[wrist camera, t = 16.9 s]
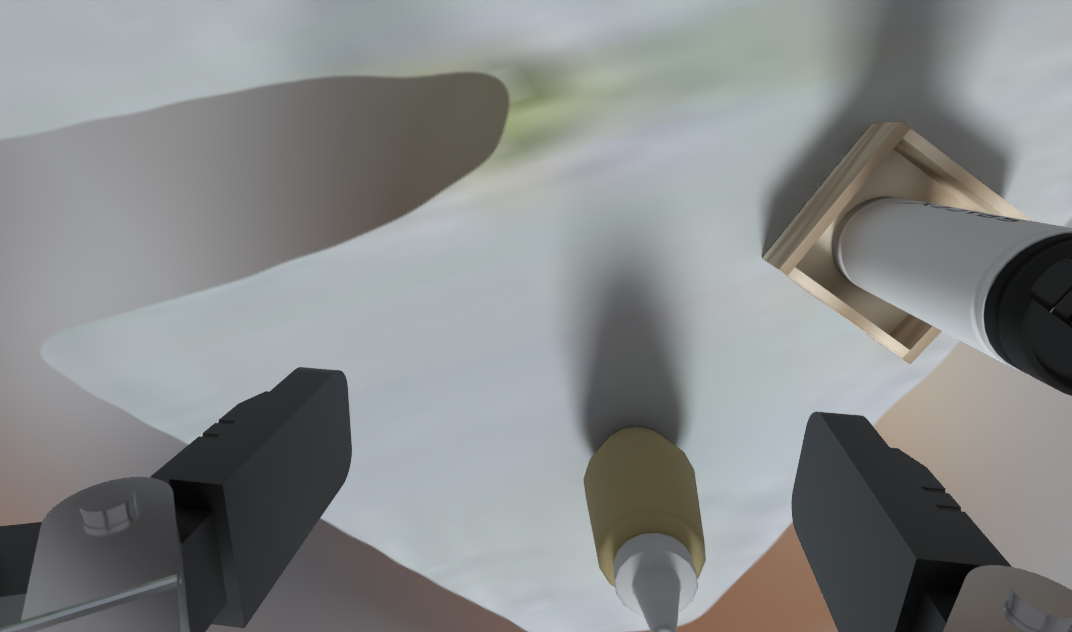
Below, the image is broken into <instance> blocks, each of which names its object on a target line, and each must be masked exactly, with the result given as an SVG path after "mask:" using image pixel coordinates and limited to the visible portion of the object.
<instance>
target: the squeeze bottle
mask: <svg viewBox="0 0 1072 632" xmlns="http://www.w3.org/2000/svg"><path fill="white" fill-rule="evenodd" d="M584 486H585V494H586V500H587V506H588V511H589V516H590V521H591V526H592V532H593V537H594V542H595V547H596V552H597V557H598V563H599V568H600V569H601V571H602V572H603V574H604V576H605V577H606V579H607V580H608V582H609V583H610V584H611V585H612V586H614V587H615V588H616V594H617V595H618V597H619V598H620V600H621V602H622V603H623V605H624V606H626V607H627V608H628V609H630V610H631V611H633V612H634V613H636V614H638V615H642V616H644V617H645V619H646V622H647V624H648V626H649V628H650V631H651V632H676V631H677V621H678V612H681V611H682V610H684V609H685V608H686V607H687V606H688V605H689V604H690V603H691V602H692V601H693V599H694V596H695V594H696V591H697V589H698V584H697V579H698V578H699V576H700V573H701V571H702V568H703V566H704V563H705V561H706V558H705V545H704V536H703V529H702V522H701V515H700V508H699V501H698V494H697V487H696V480H695V473H694V469H693V467H692V465H691V464H690V462H689V460H688V458H687V457H686V455H685V453H684V452H683V451H682V450H680V449H679V448H678V447H676V446H675V445H674V444H672V443H671V442H670V441H668V440H667V439H665V438H664V437H663V436H661V435H660V434H658V433H657V432H655V431H654V430H650V429H646V428H643V427H630V428H623V429H621V430H619V431H617V432H615V433H613V434H611V435H610V436H609V437H608V439H607V440H606V441H605V442H604V443H603V444H602V445H601V447H600V448H599V449H598V450H597V452H596V453H595V454H594V456H593V457H592V458H591V459H590V461H589V464H588V467H587V470H586V473H585V477H584Z"/></svg>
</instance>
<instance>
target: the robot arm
mask: <svg viewBox="0 0 1072 632" xmlns="http://www.w3.org/2000/svg"><path fill="white" fill-rule="evenodd" d="M351 455H352V445H351V430H350V415H349V401H348V386H347V380H346V377H345V375H344V373H343V372H342V371H339V370H327V369H315V368H303V367H299V368H297V369H295V370H294V371H293V372H292V373H291V374H289V375H288V376H287V377H286V378H285V379H284V380H283V381H281V382H280V383H279V384H278V385H277V386H276V387H275V388H273V389H272V390H271V391H270V392H267V391H266V392H263V393H261V394H259V395H257V396H255V397H252V398H250V399H248V400H246V401H244V402H241V403H239V404H238V405H236V406H235V407H234V408H233V409H232V410H230V411H229V412H228V413H227V414H226V415H224V416H223V417H222V418H221V419H219V423H215V424H213V425H212V426H211V427H210V428H209V429H207V430H206V431H205V432H204V433H203V436H202V437H198V438H197V439H195V440H194V441H193V442H192V443H191V444H189V445H188V446H187V447H186V448H184V449H183V450H182V451H181V452H180V453H178V454H177V455H176V456H175V457H174V458H172V459H171V460H170V461H169V462H168V463H166V464H165V465H164V466H163V467H162V468H160V469H159V470H158V471H157V472H156V473H154V474H153V475H152V476H151V477H129V478H121V479H116V480H111V481H107V482H103V483H100V484H97V485H94V486H91V487H88V488H86V489H84V490H81V491H79V492H77V493H75V494H73V495H71V496H69V497H68V498H66V499H64V500H63V501H61V502H60V503H59V504H57V505H56V506H55V507H54V508H53V509H52V510H51V511H50V512H49V513H48V514H47V515H46V516H45V518H44V519H43V521H42V522H38V523H29V524H19V525H9V526H0V632H205V631H206V630H207V629H208V627H209V626H210V625H211V624H216V625H224V626H232V627H240V628H245V627H246V625H247V624H248V622H249V621H250V619H251V618H252V616H253V615H254V613H255V612H256V611H257V609H258V608H259V606H260V604H261V603H262V602H263V600H264V599H265V597H266V596H267V594H268V593H269V592H270V590H271V589H272V587H273V586H274V584H275V583H276V581H277V580H278V578H279V577H280V576H281V574H282V573H283V571H284V570H285V568H286V567H287V565H288V564H289V562H290V561H291V559H292V558H293V557H294V555H295V554H296V552H297V551H298V549H299V548H300V546H301V545H302V544H303V542H304V541H305V539H306V538H307V536H308V535H309V533H310V532H311V530H312V529H313V527H314V526H315V525H316V523H317V522H318V520H319V519H320V517H321V516H322V514H323V513H324V511H325V510H326V509H327V507H328V506H329V504H330V503H331V501H332V500H333V498H334V497H335V495H336V494H337V493H338V491H339V490H340V488H341V487H342V485H343V484H344V482H345V480H346V477H347V475H348V472H349V468H350V463H351ZM792 518H793V524H794V528H795V531H796V534H797V536H798V538H799V540H800V543H801V545H802V548H803V550H804V552H805V555H806V557H807V559H808V562H809V564H810V566H811V568H812V571H813V573H814V576H815V578H816V580H817V583H818V585H819V587H820V590H821V592H822V594H823V597H824V599H825V601H826V603H827V606H828V608H829V611H830V613H831V615H832V617H833V620H834V622H835V625H836V627H837V629H838V632H1072V590H1071V589H1069V588H1067V587H1065V586H1063V585H1061V584H1059V583H1057V582H1055V581H1053V580H1050V579H1049V578H1046V577H1043V576H1041V575H1038V574H1036V573H1032V572H1029V571H1026V570H1023V569H1019V568H1014V567H1012V566H1011V565H1010V564H1009V563H1008V562H1007V561H1006V560H1005V559H1004V557H1003V556H1002V555H1001V554H1000V552H999V551H998V550H997V549H996V548H995V547H994V546H993V544H992V543H991V542H990V541H989V540H988V538H987V537H986V536H985V535H984V534H983V533H982V531H981V530H980V529H979V528H978V527H977V526H976V524H975V523H974V522H973V521H972V520H971V519H970V517H969V516H968V515H967V514H966V513H965V512H961V507H960V506H959V505H958V504H957V502H956V501H955V500H954V499H953V498H952V496H951V495H950V494H948V493H945V488H944V487H943V486H942V485H941V484H940V482H939V481H938V480H937V479H936V478H935V477H934V476H933V474H932V473H931V472H930V471H929V470H928V468H926V467H925V466H924V465H922V464H920V463H919V462H918V461H916V460H914V459H913V458H911V457H910V456H908V455H907V454H905V453H904V452H902V451H901V450H899V449H898V448H890V447H889V446H888V445H887V444H886V443H885V441H884V440H883V439H882V437H881V436H880V435H879V434H878V432H877V431H876V430H875V429H874V427H873V426H872V425H871V424H870V422H869V421H868V420H867V419H866V418H865V417H864V416H860V415H848V414H836V413H824V412H814V413H812V414H811V416H810V418H809V420H808V422H807V426H806V430H805V435H804V440H803V445H802V450H801V454H800V459H799V464H798V469H797V474H796V478H795V483H794V488H793V494H792Z"/></svg>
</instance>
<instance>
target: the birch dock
mask: <svg viewBox="0 0 1072 632" xmlns="http://www.w3.org/2000/svg"><path fill="white" fill-rule="evenodd" d="M886 196H890V197H898V198H904V199H909V200H915V201H921V202H926V203H932V204H938V205H943V206H949V207H955V208H960V209H966V210H971V211H977V212H983V213H988V214H994V215H1000V216H1005V217H1011V218H1016V219H1022V220H1028V221H1031V220H1030V219H1029V218H1027V217H1026V216H1025V215H1023V214H1022V213H1021V212H1019V211H1018V210H1017V209H1016V208H1014V207H1013V206H1012V205H1010V204H1009V203H1008V202H1006V201H1005V200H1004V199H1003V198H1001V197H1000V196H999V195H997V194H996V193H995V192H993V191H992V190H991V189H990V188H988V187H987V186H986V185H984V184H983V183H982V182H980V181H979V180H978V179H976V178H975V177H974V176H973V175H971V174H970V173H969V172H967V171H966V170H965V169H963V168H962V167H961V166H960V165H958V164H957V163H956V162H954V161H953V160H952V159H950V158H949V157H948V156H947V155H945V154H944V153H943V152H941V151H940V150H939V149H937V148H936V147H935V146H934V145H932V144H931V143H930V142H928V141H927V140H926V139H924V138H923V137H922V136H921V135H919V134H918V133H917V132H915V131H914V130H913V129H911V128H910V127H909V126H908V125H906V124H905V123H904V122H902V121H896V122H880V123H872V124H871V125H870V126H869V127H868V129H867V130H866V131H865V132H864V133H863V135H862V136H861V137H860V138H859V140H858V141H857V142H856V143H855V144H854V146H853V147H852V148H851V149H850V151H849V152H848V153H847V154H846V156H845V157H844V158H843V159H842V160H841V162H840V163H839V164H838V165H837V167H836V168H835V169H834V170H833V172H832V173H831V174H830V175H829V176H828V178H827V179H826V180H825V181H824V183H823V184H822V185H821V186H820V187H819V189H818V190H817V191H816V192H815V194H814V195H813V196H812V197H811V199H810V200H809V201H808V202H807V203H806V205H805V206H804V207H803V208H802V210H801V211H800V212H799V213H798V215H797V216H796V217H795V218H794V219H793V221H792V222H791V223H790V224H789V226H788V227H787V228H786V229H785V231H784V232H783V233H782V234H781V235H780V237H779V238H778V239H777V240H776V242H775V243H774V244H773V245H772V246H771V248H770V249H769V250H768V251H767V253H766V254H765V255H764V256H763V258H762V259H763V260H765V261H766V262H768V263H769V264H770V265H772V266H773V267H775V268H776V269H777V270H779V271H780V272H781V273H783V274H784V275H786V276H787V277H788V278H790V279H791V280H793V281H794V282H795V283H797V284H798V285H800V286H801V287H802V288H804V289H805V290H806V291H808V292H809V293H811V294H812V295H813V296H815V297H816V298H818V299H819V300H820V301H822V302H823V303H824V304H826V305H827V306H829V307H830V308H831V309H833V310H834V311H836V312H837V313H838V314H840V315H841V316H843V317H844V318H845V319H847V320H848V321H849V322H851V323H852V324H854V325H855V326H856V327H858V328H859V329H861V330H862V331H863V332H865V333H866V334H867V335H869V336H870V337H872V338H873V339H874V340H876V341H877V342H879V343H880V344H881V345H883V346H884V347H886V348H887V349H889V350H890V351H892V352H893V353H895V354H896V355H897V356H899V357H900V358H902V359H903V360H905V361H906V362H908V363H909V364H911V363H912V362H913V361H914V360H915V359H916V358H917V357H918V356H919V355H920V354H921V353H922V352H923V350H924V349H925V348H926V347H927V346H928V345H929V344H930V343H931V342H932V341H933V340H934V339H935V338H936V337H937V336H938V335H939V333H940V332H941V331H942V330H940V329H938V328H936V327H934V326H932V325H930V324H928V323H926V322H924V321H923V320H921V319H919V318H917V317H915V316H913V315H911V314H909V313H907V312H905V311H903V310H902V309H900V308H898V307H896V306H894V305H892V304H890V303H888V302H886V301H884V300H883V299H881V298H879V297H877V296H875V295H873V294H871V293H869V292H867V291H865V290H864V289H862V288H860V287H858V286H856V285H854V284H852V283H851V282H849V281H848V280H846V279H845V278H844V277H843V276H842V275H841V273H840V272H839V271H838V269H837V267H836V265H835V263H834V260H833V254H832V242H833V238H834V234H835V232H836V230H837V227H838V225H839V224H840V222H841V221H842V219H843V218H844V217H845V216H846V215H847V214H848V213H849V212H850V211H851V210H852V209H853V208H855V207H856V206H857V205H859V204H861V203H863V202H865V201H867V200H869V199H873V198H877V197H886Z"/></svg>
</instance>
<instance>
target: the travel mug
mask: <svg viewBox="0 0 1072 632" xmlns="http://www.w3.org/2000/svg"><path fill="white" fill-rule="evenodd" d="M832 254H833V260H834V263H835V265H836V267H837V269H838V271H839V272H840V273H841V275H842V276H843V277H844V278H845V279H846V280H848V281H849V282H851V283H852V284H854V285H856V286H858V287H860V288H862V289H864V290H865V291H867V292H869V293H871V294H873V295H875V296H877V297H879V298H881V299H883V300H884V301H886V302H888V303H890V304H892V305H894V306H896V307H898V308H900V309H902V310H903V311H905V312H907V313H909V314H911V315H913V316H915V317H917V318H919V319H921V320H923V321H924V322H926V323H928V324H930V325H932V326H934V327H936V328H938V329H940V330H942V331H943V332H945V333H947V334H949V335H951V336H953V337H955V338H957V339H959V340H961V341H962V342H964V343H966V344H968V345H970V346H972V347H974V348H976V349H978V350H980V351H982V352H983V353H985V354H987V355H989V356H991V357H993V358H995V359H997V360H999V361H1001V362H1002V363H1005V364H1007V365H1008V366H1010V367H1012V368H1014V369H1016V370H1019V371H1022V372H1025V373H1027V374H1029V375H1031V376H1032V377H1034V378H1036V379H1038V380H1040V381H1042V382H1044V383H1046V384H1048V385H1049V386H1051V387H1053V388H1055V389H1057V390H1059V391H1061V392H1063V393H1066V394H1068V395H1071V396H1072V228H1067V227H1062V226H1056V225H1050V224H1045V223H1039V222H1033V221H1028V220H1022V219H1016V218H1011V217H1005V216H1000V215H994V214H988V213H983V212H977V211H971V210H966V209H960V208H955V207H949V206H943V205H938V204H932V203H926V202H921V201H915V200H909V199H904V198H898V197H890V196H886V197H877V198H873V199H869V200H867V201H865V202H863V203H861V204H859V205H857V206H856V207H855V208H853V209H852V210H851V211H850V212H849V213H848V214H847V215H846V216H845V217H844V218H843V219H842V221H841V222H840V224H839V225H838V227H837V230H836V232H835V234H834V238H833V242H832Z"/></svg>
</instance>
